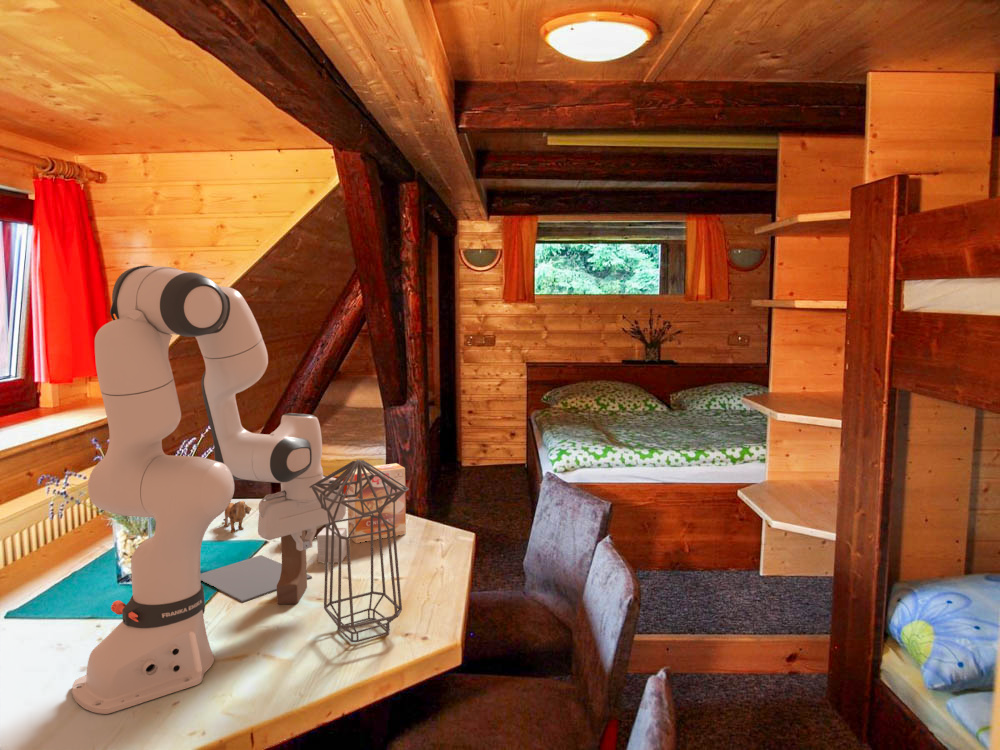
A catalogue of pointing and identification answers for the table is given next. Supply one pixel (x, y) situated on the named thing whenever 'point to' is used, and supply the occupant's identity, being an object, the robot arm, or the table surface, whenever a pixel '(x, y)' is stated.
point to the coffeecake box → (400, 508)
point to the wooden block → (292, 572)
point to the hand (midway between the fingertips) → (304, 548)
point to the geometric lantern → (348, 472)
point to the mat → (246, 578)
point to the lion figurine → (236, 514)
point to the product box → (322, 545)
